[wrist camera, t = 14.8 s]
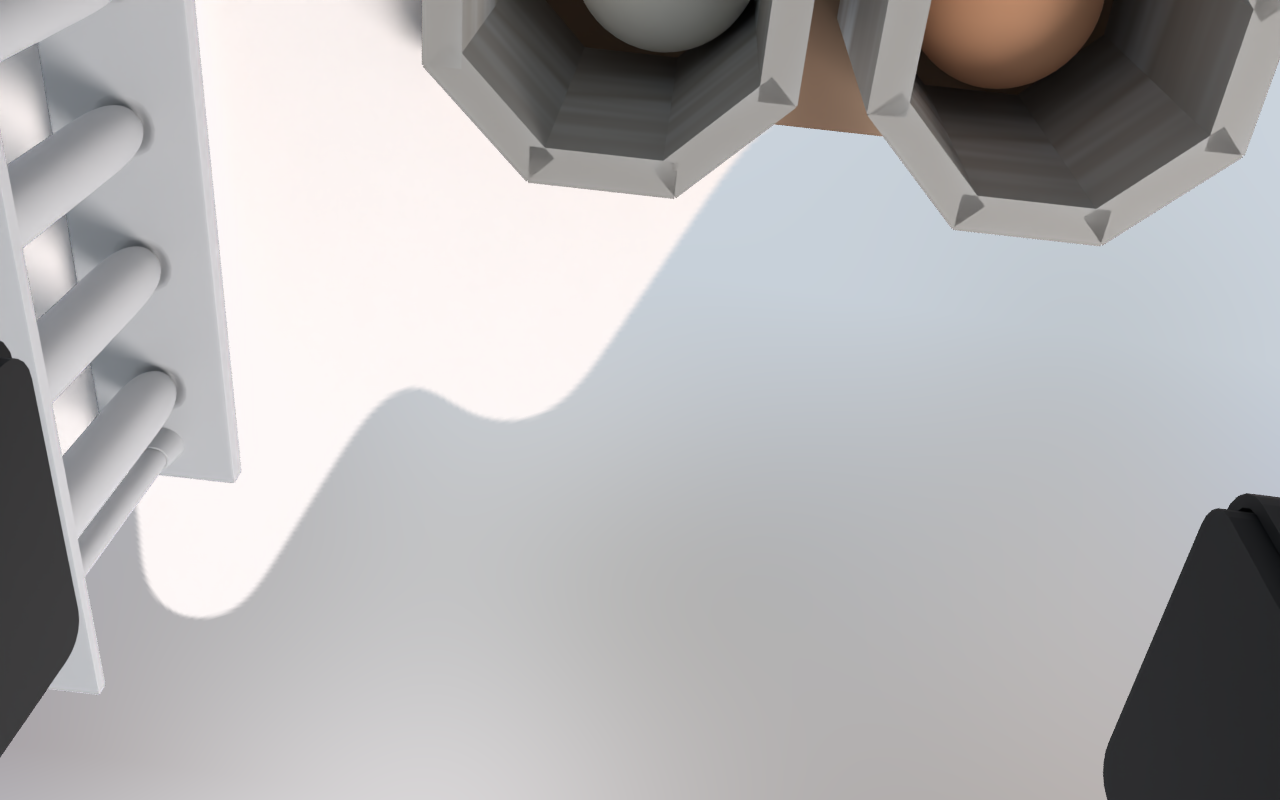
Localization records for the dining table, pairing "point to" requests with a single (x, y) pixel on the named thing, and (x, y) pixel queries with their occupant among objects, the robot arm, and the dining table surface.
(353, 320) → the dining table surface
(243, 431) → the dining table surface
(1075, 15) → the ball terracotta
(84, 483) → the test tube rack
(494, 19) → the stand
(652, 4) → the ball cream
